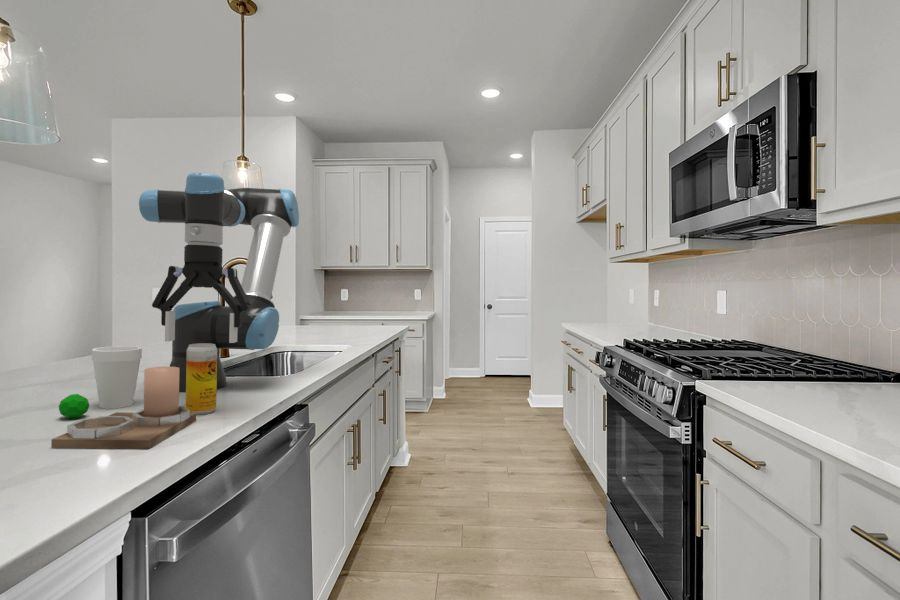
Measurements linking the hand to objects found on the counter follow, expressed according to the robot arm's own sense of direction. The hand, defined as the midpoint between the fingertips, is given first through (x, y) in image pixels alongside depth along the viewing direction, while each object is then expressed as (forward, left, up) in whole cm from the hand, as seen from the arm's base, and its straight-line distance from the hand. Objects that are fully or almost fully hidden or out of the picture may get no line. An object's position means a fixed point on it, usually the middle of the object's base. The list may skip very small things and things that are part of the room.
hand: (201, 341), depth 109 cm
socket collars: (+16, -6, -14) cm, 22 cm away
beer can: (0, 0, -16) cm, 16 cm away
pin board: (+16, -6, -16) cm, 23 cm away
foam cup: (-5, -21, -16) cm, 27 cm away
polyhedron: (+6, -23, -16) cm, 29 cm away
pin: (+11, -3, -14) cm, 18 cm away
